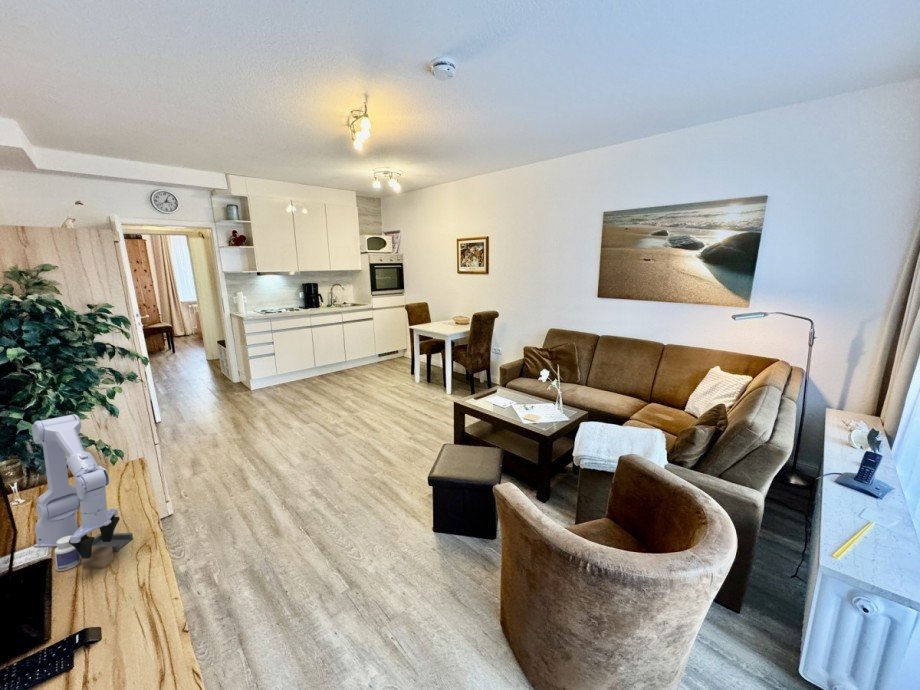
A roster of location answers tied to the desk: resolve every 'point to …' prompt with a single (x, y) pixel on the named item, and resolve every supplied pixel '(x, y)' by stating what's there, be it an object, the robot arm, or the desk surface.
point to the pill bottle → (66, 555)
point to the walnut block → (98, 558)
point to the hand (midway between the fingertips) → (97, 549)
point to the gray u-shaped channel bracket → (113, 541)
